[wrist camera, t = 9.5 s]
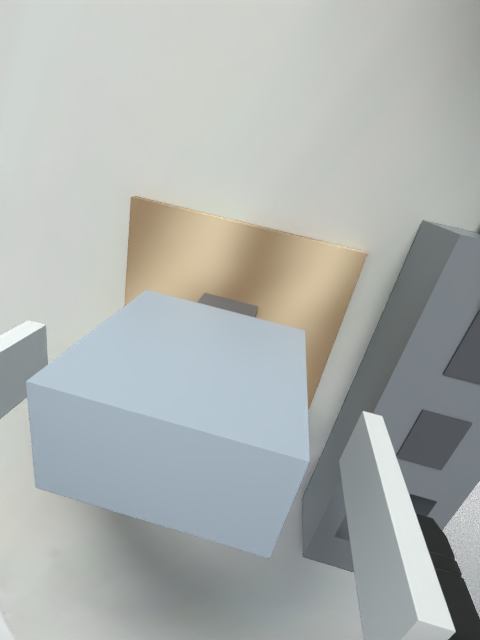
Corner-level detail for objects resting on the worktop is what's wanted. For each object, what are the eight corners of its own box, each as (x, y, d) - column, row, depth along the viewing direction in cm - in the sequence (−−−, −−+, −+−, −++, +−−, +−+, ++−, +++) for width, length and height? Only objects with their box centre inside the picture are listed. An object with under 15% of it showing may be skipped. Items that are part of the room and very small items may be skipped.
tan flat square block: (365, 251, 16) (367, 254, 16) (298, 430, 22) (298, 437, 21) (136, 196, 17) (131, 197, 17) (124, 381, 22) (119, 387, 22)
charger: (161, 278, 18) (26, 381, 9) (304, 314, 18) (309, 461, 9) (154, 346, 20) (35, 487, 11) (283, 380, 20) (269, 558, 11)
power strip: (519, -2, 12) (641, -99, 8) (691, 30, 12) (922, -53, 7) (302, 499, 24) (302, 570, 20) (384, 523, 24) (403, 601, 19)
